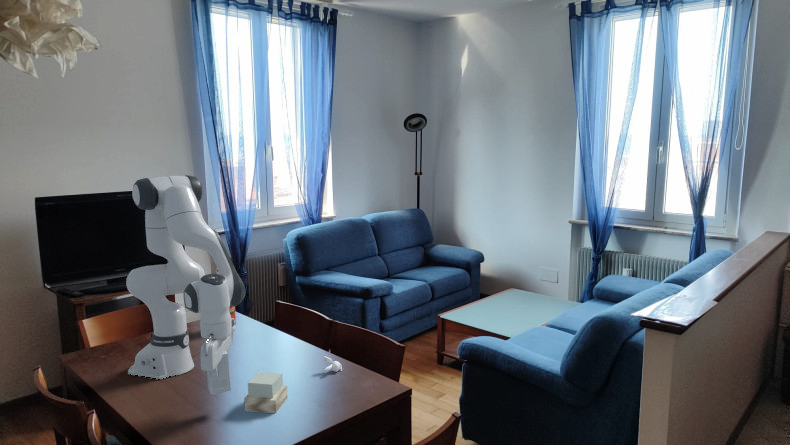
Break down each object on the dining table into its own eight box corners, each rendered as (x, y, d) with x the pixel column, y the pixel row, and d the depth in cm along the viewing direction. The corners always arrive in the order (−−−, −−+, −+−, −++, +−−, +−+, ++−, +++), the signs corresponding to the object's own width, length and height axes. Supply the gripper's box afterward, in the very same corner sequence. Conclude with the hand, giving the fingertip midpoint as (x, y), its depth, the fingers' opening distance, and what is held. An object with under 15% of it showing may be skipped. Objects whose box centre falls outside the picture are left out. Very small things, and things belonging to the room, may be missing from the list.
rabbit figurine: (345, 373, 192) (326, 367, 188) (339, 379, 194) (320, 374, 190) (343, 359, 197) (325, 353, 193) (337, 365, 198) (319, 359, 194)
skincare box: (227, 386, 169) (225, 348, 167) (231, 391, 165) (228, 353, 163) (207, 390, 166) (204, 352, 164) (210, 396, 162) (207, 357, 160)
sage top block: (248, 396, 167) (247, 382, 166) (259, 384, 174) (258, 371, 174) (272, 398, 165) (272, 384, 164) (282, 386, 173) (282, 373, 172)
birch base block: (245, 412, 166) (244, 398, 165) (258, 396, 176) (257, 383, 175) (276, 414, 165) (275, 400, 164) (287, 398, 174) (286, 385, 174)
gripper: (215, 341, 152) (218, 387, 154) (235, 316, 172) (238, 357, 174) (193, 341, 152) (196, 387, 154) (216, 317, 172) (218, 358, 174)
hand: (218, 371), depth 164 cm, fingers closed on skincare box, 6 cm apart
